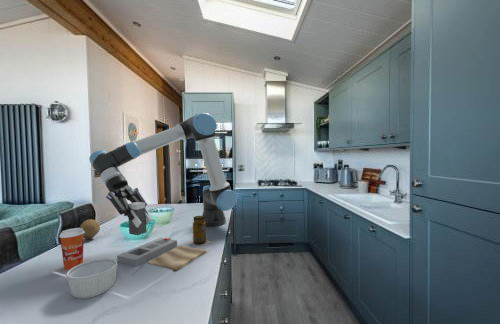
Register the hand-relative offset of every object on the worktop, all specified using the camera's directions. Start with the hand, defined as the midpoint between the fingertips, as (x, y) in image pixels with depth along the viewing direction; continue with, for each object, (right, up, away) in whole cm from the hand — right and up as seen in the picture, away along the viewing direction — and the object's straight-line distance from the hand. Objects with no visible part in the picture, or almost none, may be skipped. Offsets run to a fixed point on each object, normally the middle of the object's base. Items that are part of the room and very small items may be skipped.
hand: (144, 223), depth 94 cm
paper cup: (-25, -16, -4) cm, 30 cm away
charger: (-3, -4, +2) cm, 6 cm away
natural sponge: (-39, -15, +28) cm, 50 cm away
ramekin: (-7, -16, -19) cm, 26 cm away
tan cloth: (+13, -14, +2) cm, 19 cm away
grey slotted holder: (-1, -15, +7) cm, 16 cm away
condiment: (+18, -14, +20) cm, 30 cm away
